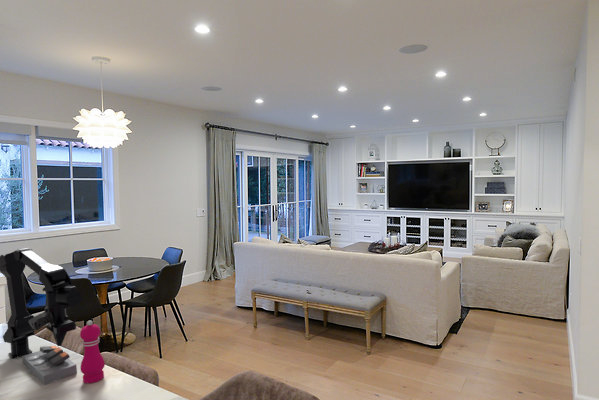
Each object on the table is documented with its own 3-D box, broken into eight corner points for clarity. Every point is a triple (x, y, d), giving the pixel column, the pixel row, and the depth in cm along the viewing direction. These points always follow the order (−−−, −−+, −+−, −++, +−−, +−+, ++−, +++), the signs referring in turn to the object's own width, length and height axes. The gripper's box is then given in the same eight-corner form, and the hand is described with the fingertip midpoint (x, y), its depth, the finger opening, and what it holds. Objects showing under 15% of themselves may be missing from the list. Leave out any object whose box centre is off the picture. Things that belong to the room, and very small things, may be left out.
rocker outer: (51, 365, 140) (49, 359, 140) (66, 356, 144) (64, 351, 143) (55, 368, 138) (53, 363, 137) (70, 359, 141) (68, 354, 141)
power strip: (22, 364, 148) (22, 355, 147) (53, 354, 155) (52, 346, 155) (44, 384, 132) (43, 375, 131) (76, 373, 139) (76, 363, 139)
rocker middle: (46, 360, 144) (43, 355, 144) (60, 352, 148) (58, 346, 147) (49, 363, 142) (47, 358, 141) (64, 354, 145) (62, 349, 145)
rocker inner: (39, 352, 148) (40, 346, 148) (53, 351, 152) (55, 345, 152) (42, 355, 145) (43, 349, 146) (57, 354, 149) (58, 348, 149)
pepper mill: (95, 385, 130) (91, 324, 129) (76, 383, 132) (71, 324, 131) (110, 374, 137) (106, 317, 136) (91, 372, 139) (87, 316, 138)
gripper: (22, 304, 145) (25, 346, 146) (38, 315, 133) (42, 361, 134) (56, 296, 153) (59, 336, 154) (75, 306, 141) (78, 349, 142)
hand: (59, 345), depth 146 cm, fingers closed
